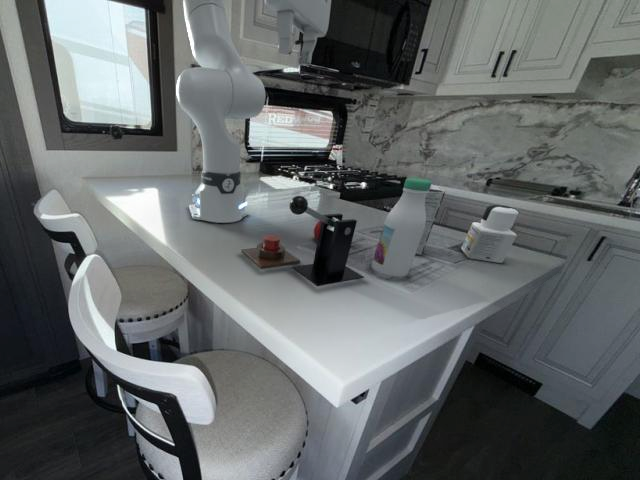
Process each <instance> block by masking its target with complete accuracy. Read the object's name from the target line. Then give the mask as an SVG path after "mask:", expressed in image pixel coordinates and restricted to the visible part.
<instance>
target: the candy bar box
mask: <svg viewBox="0 0 640 480" xmlns="http://www.w3.org/2000/svg"><path fill="white" fill-rule="evenodd" d="M445 194H446V190H444V189H442V188H440V187H439V186H437V185H435V184H434V183H432V184H431V187H430V189H429V193H427V194H426V197H425V212H426V223H425V228H424V231H423V234H422V237H421V240H420V243H419V245H418V248H417V251H416V254H415V256H416V255H417V256H422V255H423V253H424V251H425V248H426V245H427V243H428V240H429V238H430V234H431V231H432V229H433V226H434V223H435V221H436V218H437V216H438V213H439V211H440V208H441V205H442V202H443V200H444V197H445Z"/></svg>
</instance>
